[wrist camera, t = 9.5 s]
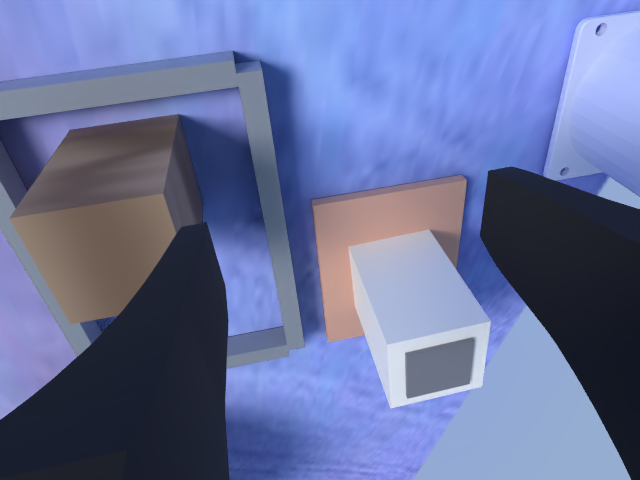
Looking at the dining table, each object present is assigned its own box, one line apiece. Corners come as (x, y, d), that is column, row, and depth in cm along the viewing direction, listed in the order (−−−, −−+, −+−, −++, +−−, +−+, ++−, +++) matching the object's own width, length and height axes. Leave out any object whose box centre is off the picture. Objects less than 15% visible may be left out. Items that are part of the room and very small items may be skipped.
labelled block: (429, 229, 25) (493, 324, 19) (428, 290, 28) (483, 390, 22) (348, 246, 25) (388, 348, 19) (354, 306, 27) (392, 412, 21)
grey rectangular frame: (257, 47, 19) (260, 56, 17) (302, 334, 29) (305, 352, 27) (-56, 89, 18) (-76, 102, 16) (104, 373, 27) (99, 393, 26)
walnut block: (178, 113, 20) (163, 193, 14) (203, 203, 22) (198, 300, 17) (70, 129, 19) (9, 218, 14) (108, 219, 22) (70, 324, 16)
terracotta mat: (462, 174, 24) (467, 179, 23) (447, 311, 30) (450, 318, 29) (311, 199, 23) (313, 205, 23) (326, 335, 29) (328, 342, 29)
